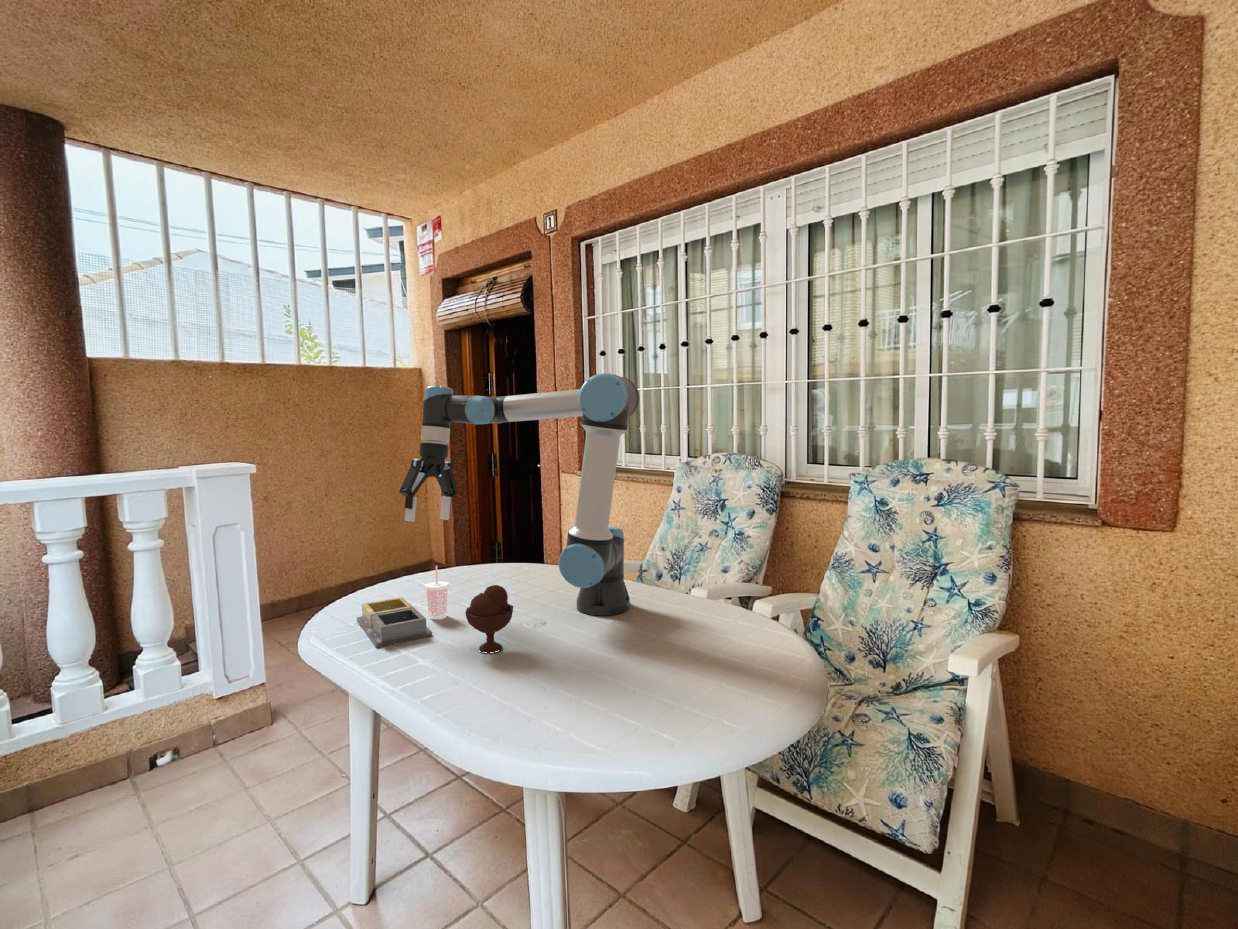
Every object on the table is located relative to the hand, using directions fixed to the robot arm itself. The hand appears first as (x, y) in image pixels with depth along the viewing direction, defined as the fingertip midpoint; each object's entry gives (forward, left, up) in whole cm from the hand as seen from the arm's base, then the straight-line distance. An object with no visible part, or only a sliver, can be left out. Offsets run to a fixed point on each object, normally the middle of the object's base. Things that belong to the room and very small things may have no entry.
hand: (427, 520), depth 158 cm
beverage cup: (-5, 0, -26) cm, 26 cm away
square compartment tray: (-7, +12, -26) cm, 29 cm away
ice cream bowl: (-34, -3, -26) cm, 43 cm away
